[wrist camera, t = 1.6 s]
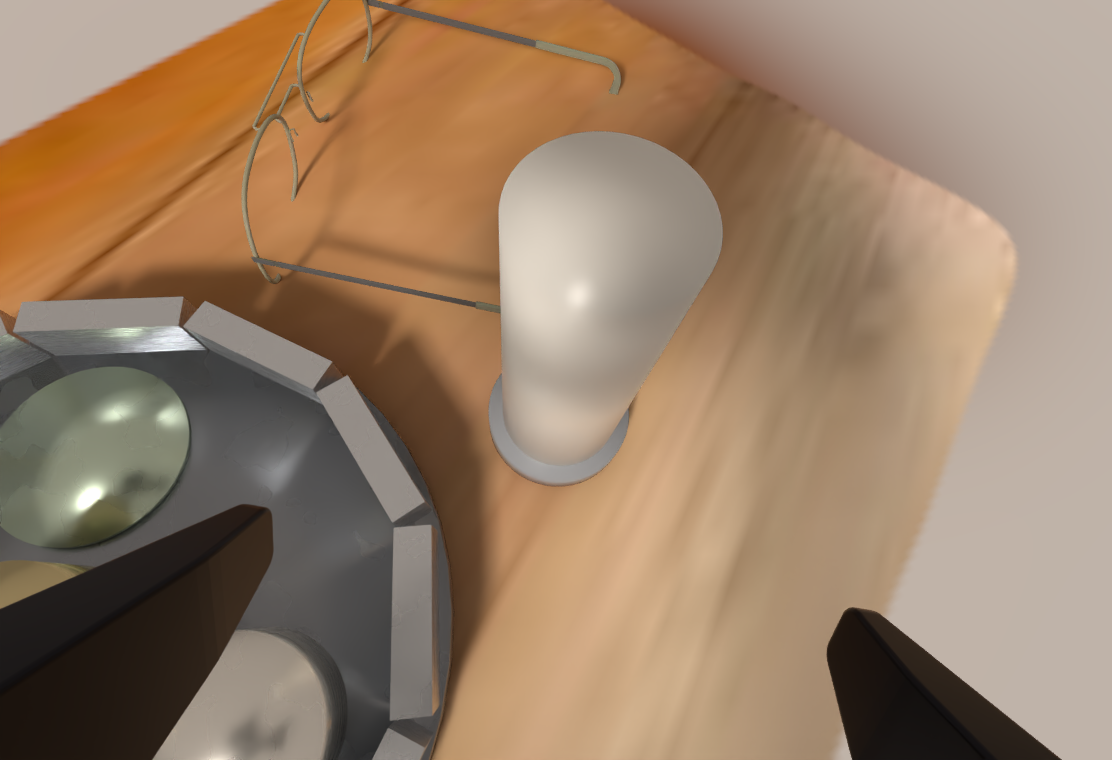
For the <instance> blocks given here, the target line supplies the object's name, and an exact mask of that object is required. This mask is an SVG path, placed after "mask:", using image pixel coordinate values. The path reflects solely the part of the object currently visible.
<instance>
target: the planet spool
mask: <svg viewBox="0 0 1112 760" xmlns="http://www.w3.org/2000/svg"><path fill="white" fill-rule="evenodd" d="M722 240H723V226H722V220H721V214H720V211H719V208H718V205H717V202H716V200H715V198H714V196H713V194H712V192H711V191H710V189H709V187H708V186H707V184H706V183H705V181H704V180H703V179H702V178H701V177H700V175H699V174H698V173H697V172H696V171H695V170H694V169H693V168H692V167H691V166H690V165H689V164H688V163H687V162H685V161H684V160H683V159H681V158H680V157H679V156H677V155H676V154H674V153H673V152H671V151H669V150H668V149H666V148H664V147H662V146H660V145H658V144H656V143H654V142H651V141H648V140H646V139H643V138H640V137H636V136H632V135H628V134H623V133H616V132H604V131H594V132H582V133H575V134H570V135H567V136H563V137H559V138H557V139H554V140H552V141H549V142H547V143H545V144H543V145H542V146H540V147H538V148H536V149H535V150H534V151H532V152H531V153H529V154H528V155H527V156H526V157H525V158H524V159H523V160H522V161H521V162H520V163H518V165H517V166H516V167H515V169H514V170H513V171H512V172H511V174H510V176H509V177H508V179H507V181H506V183H505V185H504V188H503V191H502V194H501V198H500V204H499V257H500V306H501V354H502V373H501V375H500V376H499V378H498V379H497V381H496V383H495V385H494V387H493V390H492V393H491V396H490V402H489V423H490V432H491V436H492V440H493V443H494V445H495V447H496V449H497V451H498V453H499V455H500V456H501V458H502V459H503V460H504V461H505V463H506V464H507V465H508V466H509V467H510V468H511V469H512V470H514V471H515V472H516V473H517V474H519V475H520V476H522V477H524V478H526V479H527V480H530V481H532V482H535V483H538V484H542V485H546V486H569V485H574V484H578V483H581V482H584V481H586V480H588V479H590V478H592V477H593V476H595V475H597V474H598V473H599V472H600V471H602V470H603V469H604V468H605V467H606V466H607V465H608V464H609V463H610V461H611V460H612V458H613V457H614V456H615V454H616V453H617V451H618V450H619V449H620V447H621V445H622V443H623V441H624V438H625V436H626V433H627V428H628V422H629V410H628V407H629V406H630V404H631V402H632V401H633V399H634V397H635V396H636V394H637V393H638V391H639V389H640V388H641V386H642V384H643V383H644V381H645V380H646V378H647V376H648V375H649V373H650V372H651V370H652V368H653V367H654V365H655V363H656V362H657V360H658V359H659V357H660V355H661V354H662V352H663V351H664V349H665V347H666V346H667V344H668V342H669V341H670V339H671V338H672V336H673V334H674V333H675V331H676V330H677V328H678V326H679V325H680V323H681V321H682V320H683V318H684V317H685V315H686V313H687V312H688V310H689V308H690V307H691V305H692V304H693V302H694V300H695V299H696V297H697V296H698V294H699V292H700V291H701V289H702V287H703V286H704V284H705V283H706V281H707V279H708V278H709V276H710V275H711V273H712V271H713V269H714V267H715V265H716V263H717V261H718V258H719V255H720V252H721V247H722Z"/></svg>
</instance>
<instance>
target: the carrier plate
mask: <svg viewBox="0 0 1112 760" xmlns="http://www.w3.org/2000/svg"><path fill="white" fill-rule="evenodd" d="M240 504H251V505H257V506H262V507H267V508H268V509H270V510H271V513H272V519H273V543H274V552H273V557H272V561H271V564H270V566H269V568H268V570H267V572H266V574H265V575H264V577H263V579H262V581H261V583H260V585H259V587H258V589H257V590H256V592H255V594H254V596H253V598H252V600H251V602H250V603H249V605H248V607H247V609H246V611H245V613H244V615H243V617H242V618H241V620H240V622H239V624H238V626H237V628H236V630H235V632H234V633H233V635H232V637H231V639H230V641H229V643H228V645H227V646H226V648H225V650H224V652H223V653H222V655H221V657H220V659H219V660H218V662H217V664H216V665H215V667H214V668H213V670H212V671H211V673H210V674H209V676H208V678H207V679H206V681H205V682H204V684H203V685H202V686H201V688H200V689H199V691H198V692H197V694H196V695H195V697H194V698H193V700H192V701H191V703H190V704H189V706H188V707H187V709H186V710H185V712H184V713H183V715H182V716H181V718H180V719H179V721H178V722H177V724H176V725H175V727H174V728H173V730H172V731H171V733H170V734H169V736H168V737H167V739H166V740H165V742H164V743H163V745H162V746H161V748H160V749H159V751H158V752H157V754H156V755H155V757H154V758H153V760H431V757H432V753H433V749H434V746H435V742H436V739H437V735H438V731H439V728H440V724H441V721H442V717H443V714H444V709H445V702H446V696H447V690H448V684H449V677H450V671H451V665H452V654H453V631H454V602H453V590H452V577H451V566H450V561H449V557H448V552H447V547H446V542H445V538H444V533H443V528H442V524H441V521H440V519H439V516H438V513H437V510H436V507H435V505H434V502H433V499H432V496H431V493H430V491H429V488H428V486H427V484H426V482H425V480H424V478H423V476H422V474H421V472H420V471H419V469H418V467H417V465H416V463H415V461H414V459H413V457H412V455H411V453H410V452H409V450H408V449H407V447H406V446H405V444H404V443H403V441H402V440H401V439H400V437H399V436H398V435H397V433H396V432H395V430H394V429H393V428H392V426H391V425H390V424H389V422H388V421H387V419H386V418H385V417H384V415H383V414H382V413H381V412H380V411H379V410H378V409H377V408H376V407H375V406H374V405H373V404H372V403H371V402H370V401H369V399H368V398H367V397H366V396H365V395H364V394H363V393H362V392H361V391H360V390H359V389H358V388H357V387H356V386H355V385H354V384H353V382H352V381H351V379H350V378H349V377H348V375H347V376H345V377H343V376H342V374H341V373H340V371H339V370H338V369H337V367H336V366H335V365H334V363H333V362H332V361H330V360H328V359H326V358H324V357H322V356H320V355H318V354H315V353H313V352H311V351H309V350H307V349H305V348H303V347H301V346H299V345H297V344H295V343H292V342H290V341H288V340H286V339H284V338H282V337H280V336H278V335H276V334H274V333H271V332H269V331H267V330H265V329H263V328H261V327H259V326H257V325H255V324H253V323H251V322H248V321H246V320H244V319H242V318H240V317H238V316H236V315H234V314H232V313H230V312H228V311H225V310H223V309H221V308H219V307H217V306H215V305H213V304H211V303H209V302H207V301H204V302H203V304H202V305H201V306H200V307H199V308H198V309H196V308H195V307H194V306H193V305H192V304H191V303H190V302H189V301H188V300H187V299H186V298H185V297H157V298H126V299H96V300H66V301H36V302H22V304H21V307H20V310H19V313H18V317H17V319H15V318H14V317H12V316H10V315H8V314H7V313H5V312H3V311H1V310H0V609H1V608H3V607H5V606H8V605H10V604H12V603H15V602H17V601H19V600H21V599H24V598H26V597H28V596H31V595H33V594H35V593H38V592H40V591H42V590H44V589H47V588H49V587H51V586H54V585H56V584H58V583H60V582H63V581H65V580H67V579H70V578H72V577H74V576H77V575H79V574H81V573H83V572H86V571H88V570H90V569H93V568H95V567H97V566H99V565H102V564H104V563H106V562H109V561H111V560H113V559H116V558H118V557H120V556H122V555H125V554H127V553H129V552H132V551H134V550H136V549H138V548H141V547H143V546H145V545H148V544H150V543H152V542H154V541H157V540H159V539H161V538H164V537H166V536H168V535H171V534H173V533H175V532H177V531H180V530H182V529H184V528H187V527H189V526H191V525H193V524H196V523H198V522H200V521H203V520H205V519H207V518H210V517H212V516H214V515H216V514H219V513H221V512H223V511H226V510H228V509H230V508H232V507H235V506H237V505H240Z"/></svg>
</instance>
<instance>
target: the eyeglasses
mask: <svg viewBox="0 0 1112 760" xmlns="http://www.w3.org/2000/svg"><path fill="white" fill-rule="evenodd" d="M329 1H330V0H324V1H323V2H322V4H321V5H320V6H319V8H318V10H317V11H316V13H315V14H314V16H313V18H312V19H311V21H310V23H309V25H308V27H307V29H306V32H305V33H297V35H296V37H295V39H294V41H293V43H292V45H291V47H290V49H289V51H288V53H287V55H286V57H285V59H284V61H283V64H282V66H281V68H280V70H279V72H278V74H277V76H276V78H275V80H274V82H273V84H272V86H271V88H270V90H269V93H268V95H267V97H266V99H265V101H264V103H263V105H262V107H261V109H260V111H259V113H258V115H257V117H256V119H255V122H254V124H253V128H254V129H255V130H257V131H258V133H257V135H256V137H255V139H254V142H253V144H252V147H251V150H250V153H249V156H248V160H247V163H246V167H245V172H244V176H243V183H242V212H243V219H244V224H245V229H246V234H247V237H248V241H249V244H250V248H251V250H252V253H253V256H254V257H251V258H252V259H253V261H254V262H256V263H257V264H258V266H259V268H260V270H261V272H262V273H263V275H264V276H265V278H266V279H267V280H268V281H269V282H270V283H272V284H277V283H278V282H279V281H280V279H281V276H280V274H279V273H278V274H277V276H276V278H275V279H272V278H271V277H270V276H269V275H268V273H267V272H266V270H265V268H264V267H263V264H266V265H271V266H276V267H281V268H286V269H290V270H295V271H300V272H305V273H310V274H315V275H320V276H325V277H330V278H334V279H339V280H344V281H349V282H354V283H359V284H364V285H369V286H373V287H378V288H383V289H388V290H393V291H398V292H403V293H408V294H413V295H417V296H422V297H427V298H432V299H437V300H442V301H447V302H452V303H457V304H461V305H466V306H471V307H476V309H481V310H486V311H491V312H496V313H501V306H497V305H492V304H487V303H482V302H477V301H476V302H471V301H466V300H461V299H456V298H452V297H447V296H442V295H437V294H432V293H427V292H422V291H418V290H413V289H408V288H403V287H398V286H393V285H388V284H384V283H379V282H374V281H369V280H364V279H359V278H354V277H349V276H345V275H340V274H335V273H330V272H325V271H320V270H315V269H311V268H306V267H301V266H296V265H291V264H286V263H281V262H276V261H272V260H267V259H262V258H259V256H258V253H257V251H256V247H255V244H254V241H253V238H252V233H251V229H250V225H249V218H248V209H247V189H248V181H249V175H250V171H251V167H252V163H253V159H254V156H255V153H256V149H257V147H258V144H259V142H260V139H261V137H262V135H263V133H264V131H265V130H266V128H267V126H268V125H269V124H270V122H271V121H273V120H274V119H275V120H276V121H277V122H279V123H282V125H283V127H284V129H285V132H286V135H287V138H288V142H289V147H290V151H291V156H292V161H293V170H294V179H293V189H292V197H291V201H294V199H295V197H296V192H297V184H298V167H297V160H296V154H295V149H294V144H293V142H294V141H293V138H292V136H291V133H290V131H291V130H294V131H295V129H290V130H289V127H288V125H287V123H286V121H285V120H284V118H283V117H282V116H280V114H281V112H282V110H283V108H284V105H285V103H286V101H287V99H288V97H289V95H290V92H291V90H292V88H293V87H299V89H300V92H301V95H302V98H303V101H304V103H305V105H306V107H307V109H308V111H309V112H310V114H311V116H312V117H313V119H314V120H315V121H316V122H319V123H321V122H324V121H326V120H327V119H328V117H329V113H327V114H326V115H325V116H324V117H322V118H320V119H319V118H317V116H316V115H315V113H314V112H313V110H312V108H311V106H310V104H309V102H308V100H307V97H306V94H305V91H304V87H303V82H302V60H303V54H304V50H305V46H306V43H307V40H308V37H309V35H310V33H311V30H312V28H313V26H314V24H315V22H316V21H317V19H318V17H319V16H320V14H321V13H322V11H323V9H324V8H325V6H326V5H327V4H328V2H329ZM362 1H363V4H364V7H365V11H366V16H367V22H368V45H367V50H366V54H365V57H364V59H363V63H364V62H366V61H367V60H368V57H369V54H370V51H371V45H372V22H371V15H370V10H369V6H368V5H370V6H374V7H378V8H383V9H386V10H390V11H394V12H398V13H402V14H405V15H409V16H413V17H417V18H421V19H425V20H429V21H433V22H437V23H441V24H445V25H449V26H453V27H457V28H461V29H465V30H469V31H473V32H477V33H481V34H485V35H489V36H493V37H497V38H501V39H505V40H509V41H512V42H516V43H520V44H524V45H528V46H532V47H535V48H538V49H542V50H546V51H550V52H554V53H558V54H562V55H566V56H570V57H574V58H578V59H582V60H586V61H590V62H594V63H598V64H602V65H604V66H607V67H608V68H609V69H610V70H611V71H612V72H613V75H614V80H613V83H612V87H611V89H610V90H609V93H611V94H618V90H619V87H620V84H621V75H620V71H619V68H618V67H617V65H616V64H615V63H614V62H613V61H612V60H610V59H608V58H605V57H602V56H598V55H594V54H590V53H586V52H582V51H578V50H574V49H571V48H567V47H563V46H559V45H555V44H551V43H547V42H543V41H539V40H536V41H535V40H531V39H527V38H523V37H519V36H515V35H511V34H507V33H503V32H499V31H495V30H491V29H487V28H483V27H479V26H475V25H471V24H467V23H464V22H460V21H456V20H452V19H448V18H444V17H440V16H436V15H432V14H428V13H424V12H420V11H416V10H412V9H408V8H404V7H400V6H396V5H392V4H388V3H385V2H381V1H377V0H362ZM379 4H380V6H379ZM300 35H303V36H304V37H303V39H302V42H301V45H300V49H299V54H298V62H297V78H298V84H291V85H290V86H289V89H288V91H287V93H286V95H285V97H284V99H283V102H282V104H281V106H280V108H279V110H278V112H277V114H273V115H271V116H269V117H268V118H267V119H266V120H265V121H264V122H263V124H262V125H261V127H260V129H258V128H256V125H257V123H258V121H259V119H260V117H261V115H262V113H263V111H264V109H265V107H266V104H267V102H268V100H269V98H270V96H271V94H272V92H273V90H274V88H275V86H276V84H277V81H278V79H279V77H280V75H281V73H282V71H283V69H284V67H285V65H286V63H287V61H288V59H289V56H290V54H291V52H292V50H293V48H294V46H295V44H296V42H297V40H298V38H299V36H300ZM306 93H307V95H308V93H309V92H308V91H306ZM308 97H309V98H310V100H311V101H312V102H313V99H312V97H311V95H310V93H309V95H308ZM278 119H279V120H278ZM294 133H295V135H296V136H298V134H297V133H296V131H295V132H294Z"/></svg>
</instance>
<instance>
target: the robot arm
mask: <svg viewBox="0 0 1112 760" xmlns="http://www.w3.org/2000/svg"><path fill="white" fill-rule="evenodd" d="M273 552H274V543H273V519H272V513H271V510H270V509H268V508H267V507H262V506H257V505H251V504H240V505H237V506H235V507H232V508H230V509H228V510H226V511H223V512H221V513H219V514H216V515H214V516H212V517H210V518H207V519H205V520H203V521H200V522H198V523H196V524H193V525H191V526H189V527H187V528H184V529H182V530H180V531H177V532H175V533H173V534H171V535H168V536H166V537H164V538H161V539H159V540H157V541H154V542H152V543H150V544H148V545H145V546H143V547H141V548H138V549H136V550H134V551H132V552H129V553H127V554H125V555H122V556H120V557H118V558H116V559H113V560H111V561H109V562H106V563H104V564H102V565H99V566H97V567H95V568H93V569H90V570H88V571H86V572H83V573H81V574H79V575H77V576H74V577H72V578H70V579H67V580H65V581H63V582H60V583H58V584H56V585H54V586H51V587H49V588H47V589H44V590H42V591H40V592H38V593H35V594H33V595H31V596H28V597H26V598H24V599H21V600H19V601H17V602H15V603H12V604H10V605H8V606H5V607H3V608H1V609H0V760H153V758H154V757H155V755H156V754H157V752H158V751H159V749H160V748H161V746H162V745H163V743H164V742H165V740H166V739H167V737H168V736H169V734H170V733H171V731H172V730H173V728H174V727H175V725H176V724H177V722H178V721H179V719H180V718H181V716H182V715H183V713H184V712H185V710H186V709H187V707H188V706H189V704H190V703H191V701H192V700H193V698H194V697H195V695H196V694H197V692H198V691H199V689H200V688H201V686H202V685H203V684H204V682H205V681H206V679H207V678H208V676H209V674H210V673H211V671H212V670H213V668H214V667H215V665H216V664H217V662H218V660H219V659H220V657H221V655H222V653H223V652H224V650H225V648H226V646H227V645H228V643H229V641H230V639H231V637H232V635H233V633H234V632H235V630H236V628H237V626H238V624H239V622H240V620H241V618H242V617H243V615H244V613H245V611H246V609H247V607H248V605H249V603H250V602H251V600H252V598H253V596H254V594H255V592H256V590H257V589H258V587H259V585H260V583H261V581H262V579H263V577H264V575H265V574H266V572H267V570H268V568H269V566H270V564H271V561H272V557H273ZM827 662H828V666H829V670H830V674H831V678H832V682H833V686H834V690H835V694H836V698H837V702H838V706H839V710H840V714H841V718H842V722H843V726H844V730H845V734H846V738H847V742H848V747H849V750H850V754H851V757H852V760H1061V759H1060V758H1059V757H1058V756H1056V755H1055V754H1054V753H1052V752H1051V751H1050V750H1049V749H1048V748H1046V747H1045V746H1044V745H1043V744H1041V743H1040V742H1039V741H1038V740H1036V739H1035V738H1034V737H1033V736H1031V735H1030V734H1029V733H1028V732H1026V731H1025V730H1024V729H1023V728H1021V727H1020V726H1019V725H1018V724H1017V723H1015V722H1014V721H1012V720H1011V719H1010V718H1009V717H1008V716H1006V715H1005V714H1004V713H1003V712H1002V711H1000V710H999V709H998V708H996V707H995V706H994V705H993V704H992V703H990V702H989V701H988V700H987V699H985V698H984V697H983V696H982V695H980V694H979V693H978V692H977V691H975V690H974V689H973V688H972V687H970V686H969V685H968V684H967V683H965V682H964V681H963V680H962V679H960V678H959V677H958V676H957V675H955V674H954V673H953V672H952V671H950V670H949V669H948V668H947V667H945V666H944V665H943V664H942V663H940V662H939V661H938V660H936V659H935V658H934V657H933V656H932V655H930V654H929V653H928V652H927V651H925V650H924V649H923V648H922V647H920V646H919V645H918V644H917V643H915V642H914V641H913V640H912V639H910V638H909V637H908V636H906V635H905V634H904V633H903V632H902V631H900V630H899V629H898V628H897V627H895V626H894V625H893V624H892V623H890V622H889V621H888V620H887V619H886V618H884V617H883V616H882V615H880V614H879V613H877V612H875V611H872V610H866V609H860V608H854V607H852V608H848V609H847V610H845V611H844V613H843V615H842V617H841V619H840V621H839V623H838V625H837V627H836V629H835V631H834V633H833V635H832V637H831V639H830V641H829V643H828V647H827Z"/></svg>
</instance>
